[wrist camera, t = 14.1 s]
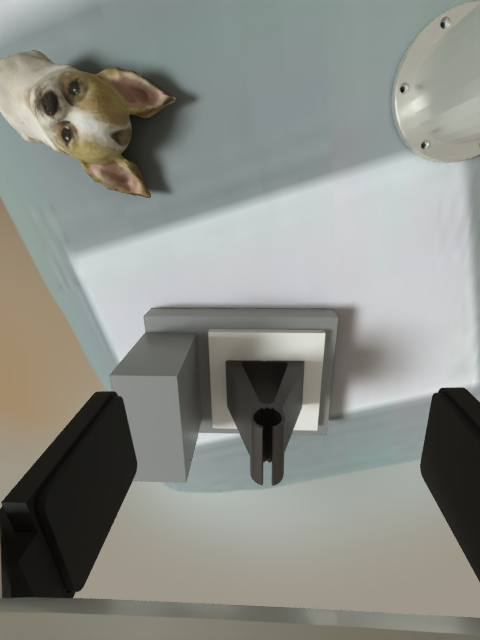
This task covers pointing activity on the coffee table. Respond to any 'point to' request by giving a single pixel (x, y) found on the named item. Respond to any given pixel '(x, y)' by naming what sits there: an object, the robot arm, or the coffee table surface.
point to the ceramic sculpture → (80, 113)
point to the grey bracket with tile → (214, 376)
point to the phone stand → (265, 409)
